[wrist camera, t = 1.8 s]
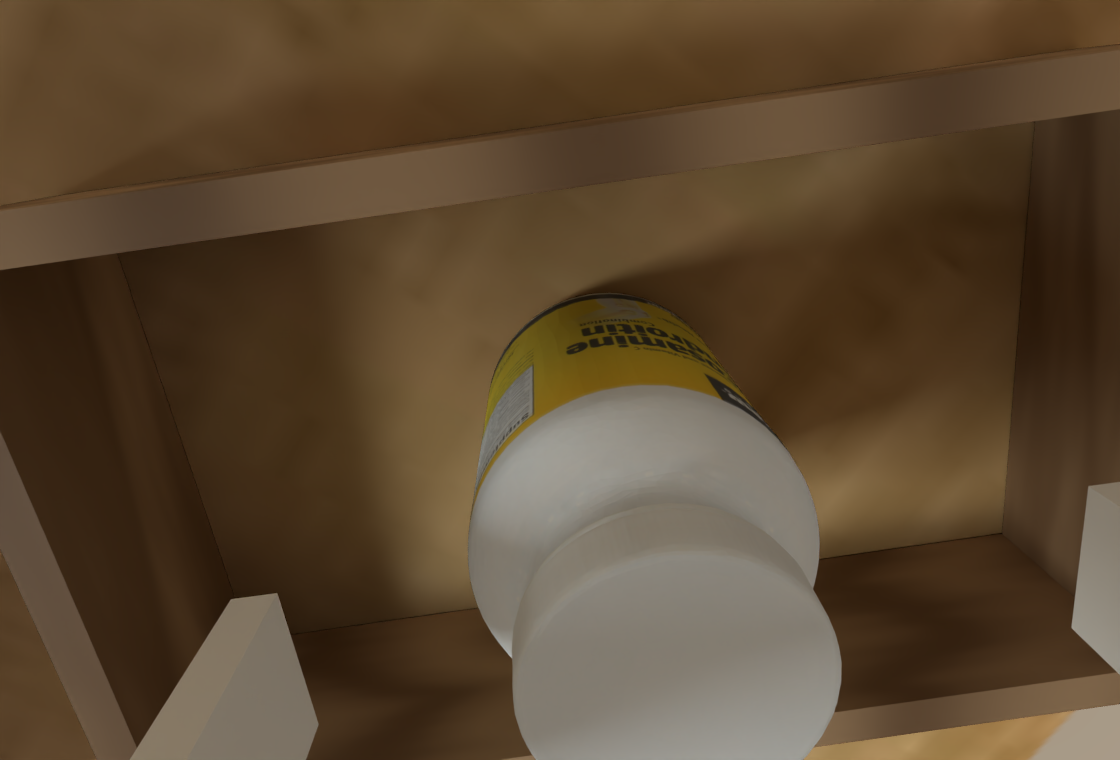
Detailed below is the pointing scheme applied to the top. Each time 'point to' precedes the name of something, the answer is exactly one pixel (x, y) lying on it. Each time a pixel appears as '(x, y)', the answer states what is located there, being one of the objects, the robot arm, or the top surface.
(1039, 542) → the box frame
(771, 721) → the pill bottle
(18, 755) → the top surface
